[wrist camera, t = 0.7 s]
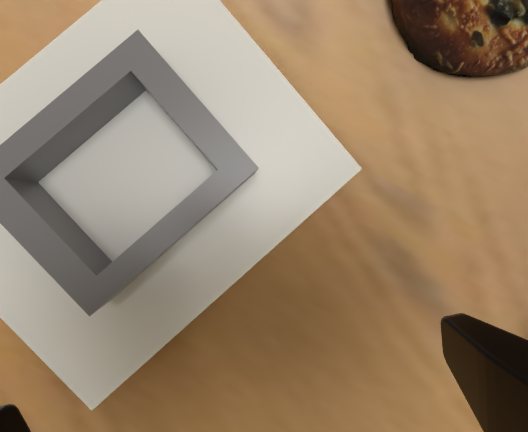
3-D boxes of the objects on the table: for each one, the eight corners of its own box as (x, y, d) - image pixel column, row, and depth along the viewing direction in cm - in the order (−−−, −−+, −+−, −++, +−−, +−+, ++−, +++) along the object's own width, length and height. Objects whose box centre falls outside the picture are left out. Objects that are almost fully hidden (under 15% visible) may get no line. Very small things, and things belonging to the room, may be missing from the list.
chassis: (174, -45, 20) (160, -103, 16) (356, 170, 21) (382, 162, 18) (-108, 190, 19) (-191, 185, 16) (98, 400, 20) (67, 444, 17)
